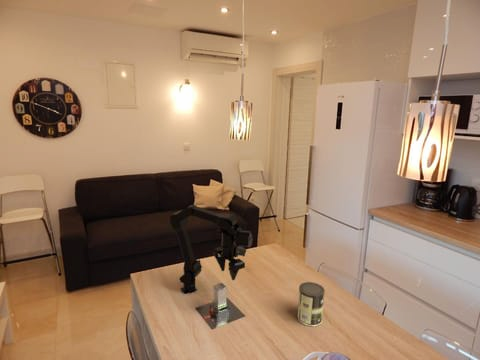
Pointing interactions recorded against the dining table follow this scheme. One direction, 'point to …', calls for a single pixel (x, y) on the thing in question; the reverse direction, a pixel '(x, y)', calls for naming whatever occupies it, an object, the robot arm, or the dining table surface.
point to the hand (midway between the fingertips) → (228, 275)
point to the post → (220, 295)
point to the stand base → (219, 314)
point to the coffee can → (310, 304)
